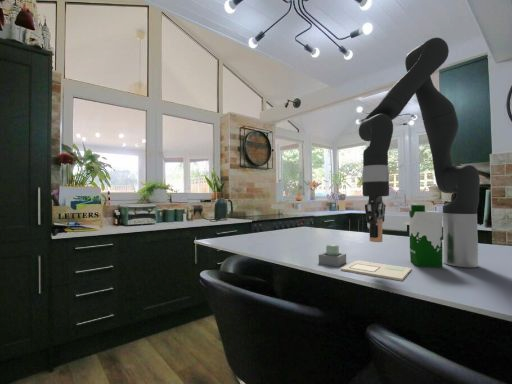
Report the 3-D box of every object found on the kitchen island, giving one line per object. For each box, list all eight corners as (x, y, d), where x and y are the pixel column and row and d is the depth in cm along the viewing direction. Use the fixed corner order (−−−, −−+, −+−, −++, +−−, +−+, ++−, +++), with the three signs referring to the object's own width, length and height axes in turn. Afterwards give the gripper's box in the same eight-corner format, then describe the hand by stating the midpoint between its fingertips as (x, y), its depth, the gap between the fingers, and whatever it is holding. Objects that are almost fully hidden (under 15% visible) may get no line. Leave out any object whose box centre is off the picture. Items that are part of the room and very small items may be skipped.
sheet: (356, 261, 94) (356, 260, 94) (411, 270, 83) (411, 267, 83) (341, 270, 83) (341, 268, 83) (402, 280, 72) (402, 278, 72)
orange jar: (371, 239, 84) (371, 214, 84) (384, 241, 82) (383, 214, 82) (367, 241, 81) (367, 214, 81) (380, 242, 79) (380, 215, 79)
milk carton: (406, 260, 95) (405, 204, 95) (435, 262, 93) (433, 204, 94) (416, 267, 86) (415, 205, 87) (447, 268, 85) (446, 205, 85)
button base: (327, 259, 97) (327, 251, 97) (346, 262, 93) (346, 253, 93) (318, 263, 92) (318, 254, 92) (338, 266, 88) (338, 257, 88)
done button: (329, 255, 95) (329, 244, 96) (340, 256, 93) (340, 245, 93) (324, 257, 92) (324, 245, 92) (335, 259, 90) (335, 247, 90)
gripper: (382, 179, 74) (382, 240, 74) (394, 181, 85) (394, 235, 85) (355, 180, 79) (355, 238, 78) (369, 182, 90) (370, 233, 89)
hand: (375, 236), depth 82 cm, fingers closed on orange jar, 3 cm apart
